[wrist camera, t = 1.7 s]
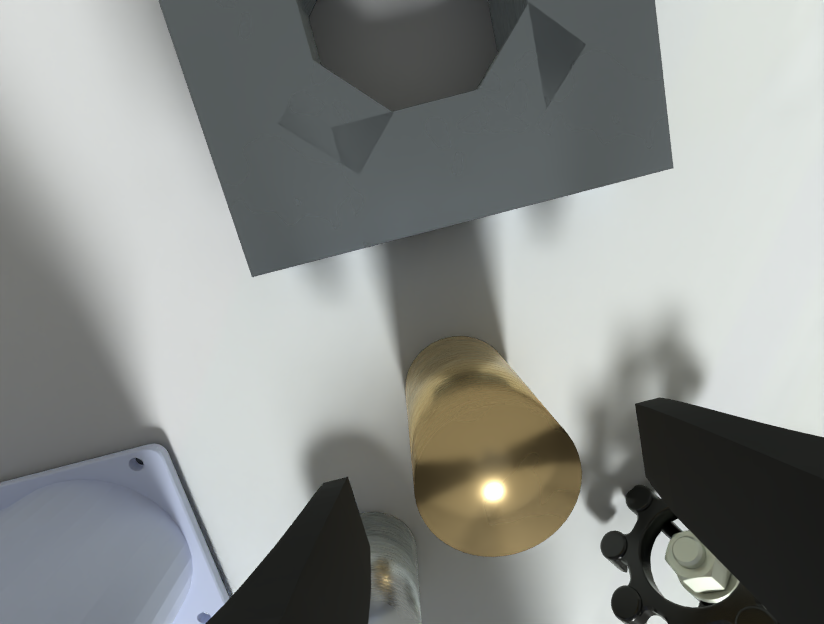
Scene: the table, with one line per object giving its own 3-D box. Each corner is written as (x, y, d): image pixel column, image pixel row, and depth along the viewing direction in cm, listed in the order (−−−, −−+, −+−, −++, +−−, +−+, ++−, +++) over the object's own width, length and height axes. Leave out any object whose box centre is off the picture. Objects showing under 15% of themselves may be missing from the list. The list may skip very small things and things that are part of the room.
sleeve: (341, 597, 17) (327, 705, 13) (316, 525, 17) (293, 617, 13) (425, 575, 17) (435, 678, 13) (403, 502, 17) (407, 587, 13)
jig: (280, 266, 14) (252, 277, 11) (149, -140, 12) (70, -260, 9) (615, 179, 14) (673, 167, 11) (555, -246, 12) (610, -402, 9)
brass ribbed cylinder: (419, 446, 16) (436, 573, 10) (393, 351, 15) (395, 430, 9) (519, 421, 16) (593, 533, 10) (498, 324, 15) (566, 385, 9)
